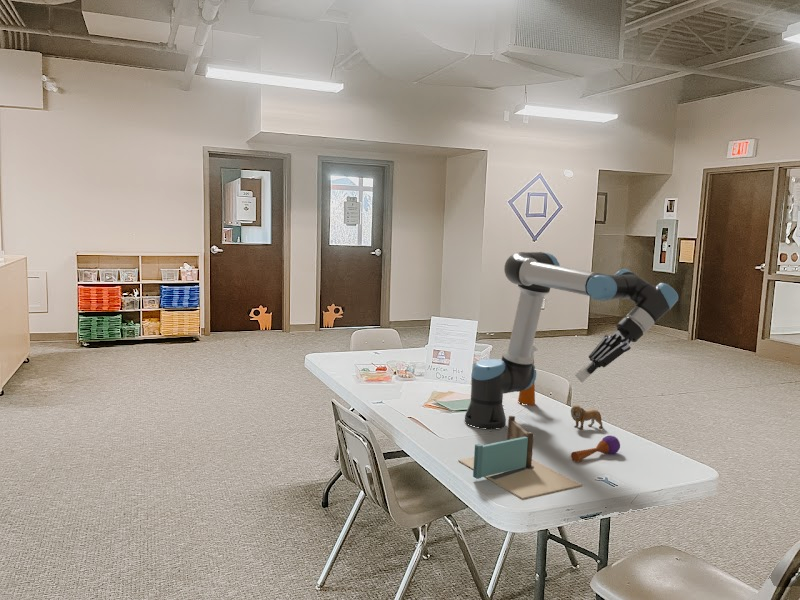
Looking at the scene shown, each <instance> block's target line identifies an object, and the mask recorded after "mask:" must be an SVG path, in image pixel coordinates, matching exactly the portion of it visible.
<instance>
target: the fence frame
mask: <svg viewBox="0 0 800 600" xmlns="http://www.w3.org/2000/svg"><path fill="white" fill-rule="evenodd" d="M507 422H508V423H507V437H506V438H507V439H506V440H511V439H515V438H520V437H528V444H527V458H526V467H527V468H531V464H532V460H533V449H534V436H535V435H534V433H533V432H531V431H527V430H526V429H524V428H523V426H521V425H520V423H518V422H517V421H516V416H514V415H508V421H507Z"/></svg>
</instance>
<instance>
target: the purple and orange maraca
mask: <svg viewBox="0 0 800 600" xmlns="http://www.w3.org/2000/svg"><path fill="white" fill-rule="evenodd" d="M620 448H621V443H620V440H619V439H618V437H616V436H615V435H607V436H603V438H602V440H600V441H599V442H598V444H597V445H596V447H595V448H589V449H583V450H577V451H572V452H571V453H570V458H571V460H572V461H573V462H575V463H578V462H580V461H582V460H584V459H586V458H588V457H590V456H591V455H593V454H595V453H597V452H599V453H602V454H608V455H614V454H616V453H618V452H619V450H620Z"/></svg>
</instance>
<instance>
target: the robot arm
mask: <svg viewBox="0 0 800 600" xmlns="http://www.w3.org/2000/svg"><path fill="white" fill-rule="evenodd" d="M503 270H504V271H503V272H504V274H505V277H506V278H507V280H508V281H510V283H512V284H514V285H517V287H518V288H519V290H520V292H519V298H518V303H517V306H516V307H517V308H516V312H515V314H514V315H515V316H514V321H513V324H512V330H511V333H510V339H509V344H508V347H507V348H508V349H507V351H505V352H503V353H502V357H501V359H499V358H483V359H480V360H477V361H475V363H474V364H473V366H472V371H471V386H470V388H471V391H470V402H469V404H468V408H467V409H466V412H465V414H464V423H465V422H466V423H467V424H469V425H472V426H475V427H479V428H478V429H480V428H486V429H485V430H497V429H496V428H500V429H503V428H505V427H506V426H505V425H506V424H507V418H506V413H505V410H504V405H503V399H504V398H503V397H504V395H505V394H509V393H515V392H518V393H519V392H520V391H523V390H526V389H528V388H530V387H531V386H532V385H533V384H534V385H535V383H536V382H535V381H536V379H537V370H536V366H535V363H534V364H533V359H532V358H531V356H530V355H531V351H532V346H534V341H535V338H536V333H537V329H538V324H539V320H540V315H541V311H542V308H543V302H544V298H545V296H546V295H548V294H549V293H550V291H551V289H555V290H559V291H565V292H569V293H574V294H578V295H583V296H588V297H590V298H591V299H593V300H596V301H611V300H626V299H627V300H630V301H631V302H633V303H634V304H635V306H634V307H633V308H632V309H631V310H630V311H629V312H628V313H627V314H626V316H625V317H623V318H622V319H621V320H619V322H618V323H617V324H616V329H617V330H615V331H614V332H613V333H611V335H608V334H604V335H603V337H602V340H601V341H600V342H599V343H598V344H597V345H596V346H595V348H594V349H593V350H592V351H591V353H590V354H589V355H588V358H589V361H588V362H587V363H586V364H585V365H584V366H583V367H582V368H581V369H580V370H578V371H577V373H576V374H574V376H575V377H576V378H577V380H578V381H579V382H581V383H584V382H585V381H586V380H587V379H588V378H589V377H590V376H591V375H592V374H593V373H594V372H596V370H597V369H599V368H601V367H602V368H603V369H604V368H606V367H607V366H609V365H610V364H611V363H612V362H613V361H615V360H617V358H619V357H620V356H622V355H623V354H624V353H625V352H628V351H630V350H631V349H632V348H631V346H630V345H629V344H630V343H631V342H632V343H636V342H637V341H638V340H639V339H641V337H642V336H643V335H644V333H647V331H649V330H650V329H651V328H652V327H653V326H654V325H655V324H656V323H657V322H658V321H659V320H661V318H662V317H663V316H664V315H665V314H667V312H668V311H670V310H672V308H673V307H674V305H675V304H676V303H677V302H678V301H679V294H678V293H677V291H676V290H675V288H673V287H672V286H670V285H669V284H668V283H665V282H659V283H658V284H657V285H653V284H651V283H650V282H649V281H647V280H645V279H644V278H642V277H641V276H639V275H638V274H637V273H635V272H634V271H632V270H629V269H627V268H622V269H620V270H618V271H617V272H616V273H614V274H605V273H600V272H599V273H598V272H594V271H589V270H588V271H587V270H583V269H577V268H573V267H572V268H571V267H566V266H561V265H560V263H559V261H558V259H557V257H555V256H554V255H553V254H551V253H550V252H549V253H548V252H544V251H543V252H542V251H539V252H538V251H535V252H534V251H531V252H530V251H529V252H527V251H526V252H525V251H521V252H516V253H513V254H511V255H510V256H509V257H508V258H507V260H506V261H505V263H504V269H503ZM466 423H465V424H466ZM467 424H466V425H467ZM469 425H468V426H469ZM472 426H471V427H472ZM504 426H505V427H504ZM475 427H474V428H475ZM502 427H503V428H502Z"/></svg>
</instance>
